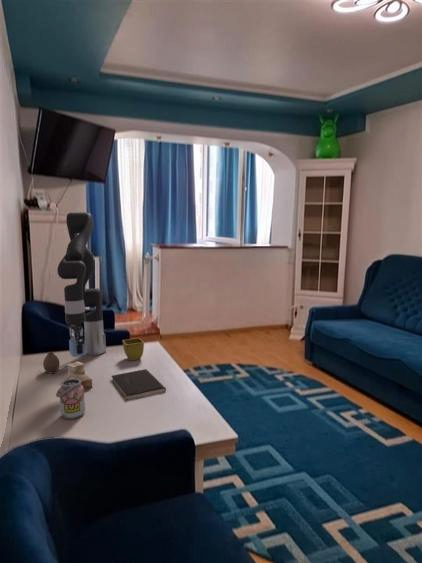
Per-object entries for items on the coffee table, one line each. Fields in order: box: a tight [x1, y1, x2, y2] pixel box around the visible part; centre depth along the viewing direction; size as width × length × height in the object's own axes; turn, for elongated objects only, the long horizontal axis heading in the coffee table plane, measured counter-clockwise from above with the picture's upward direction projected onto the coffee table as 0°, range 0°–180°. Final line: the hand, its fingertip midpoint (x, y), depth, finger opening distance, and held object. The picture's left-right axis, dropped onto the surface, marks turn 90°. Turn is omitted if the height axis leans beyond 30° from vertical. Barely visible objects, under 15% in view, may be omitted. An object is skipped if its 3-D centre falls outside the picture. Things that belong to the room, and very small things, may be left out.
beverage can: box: [55, 378, 86, 420], centre depth 147 cm, size 9×8×12 cm
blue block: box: [68, 339, 87, 358], centre depth 169 cm, size 5×5×6 cm
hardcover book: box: [111, 368, 167, 400], centre depth 173 cm, size 16×23×2 cm
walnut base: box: [67, 374, 93, 391], centre depth 171 cm, size 7×7×4 cm
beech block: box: [67, 361, 86, 379], centre depth 182 cm, size 5×5×6 cm
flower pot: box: [122, 337, 145, 361], centre depth 204 cm, size 9×9×9 cm
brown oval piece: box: [42, 351, 61, 374], centre depth 190 cm, size 7×7×9 cm
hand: (77, 351), depth 169 cm, fingers closed on blue block, 5 cm apart
